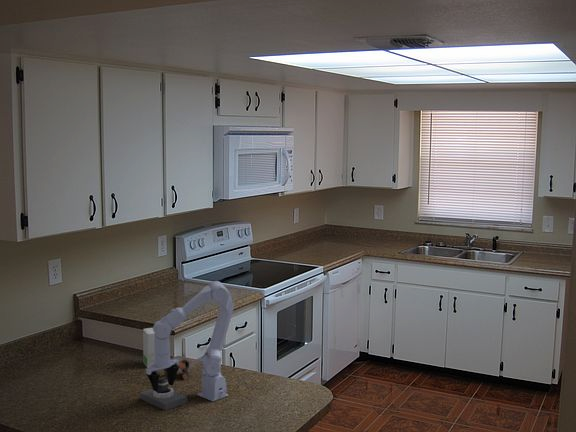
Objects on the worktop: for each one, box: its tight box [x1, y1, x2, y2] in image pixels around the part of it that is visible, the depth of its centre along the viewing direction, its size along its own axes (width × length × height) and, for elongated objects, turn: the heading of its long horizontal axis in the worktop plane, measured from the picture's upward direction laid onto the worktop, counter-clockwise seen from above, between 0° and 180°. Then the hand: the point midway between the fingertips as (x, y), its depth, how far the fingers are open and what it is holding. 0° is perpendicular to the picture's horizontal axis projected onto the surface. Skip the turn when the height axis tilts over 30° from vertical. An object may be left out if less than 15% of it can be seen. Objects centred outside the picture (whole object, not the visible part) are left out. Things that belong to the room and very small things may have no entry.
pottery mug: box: [163, 359, 190, 381], centre depth 280 cm, size 12×10×8 cm
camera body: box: [139, 386, 188, 411], centre depth 254 cm, size 16×10×4 cm, turn 46°
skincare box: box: [142, 327, 155, 369], centre depth 294 cm, size 8×7×16 cm
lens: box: [158, 376, 169, 394], centre depth 254 cm, size 4×4×6 cm
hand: (163, 387), depth 254 cm, fingers open, 7 cm apart
